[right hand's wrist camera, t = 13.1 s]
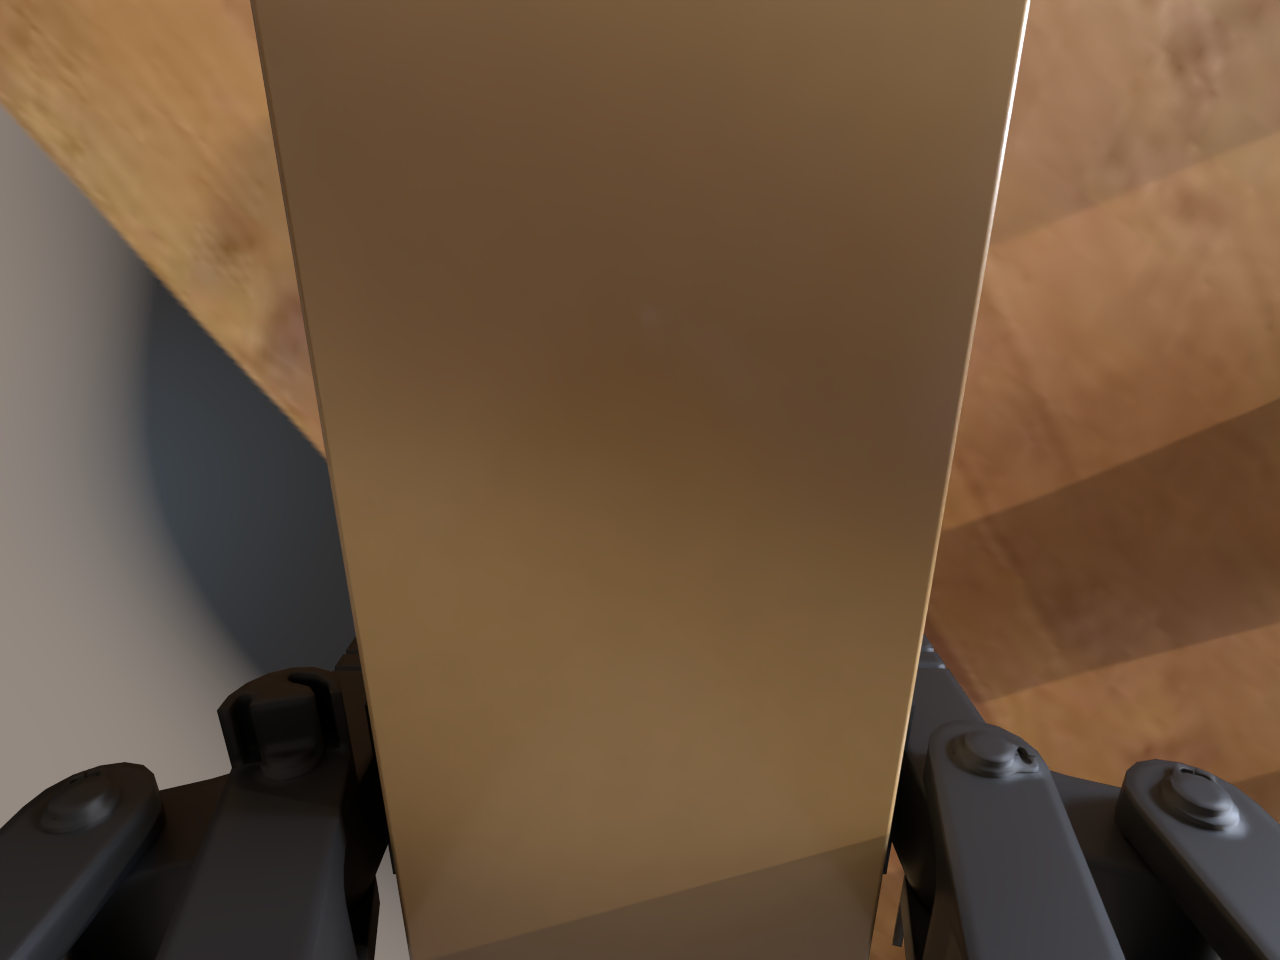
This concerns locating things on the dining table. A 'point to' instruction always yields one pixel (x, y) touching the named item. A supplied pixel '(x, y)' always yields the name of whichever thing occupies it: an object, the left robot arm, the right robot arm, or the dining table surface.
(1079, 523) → the dining table surface
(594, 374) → the beam
